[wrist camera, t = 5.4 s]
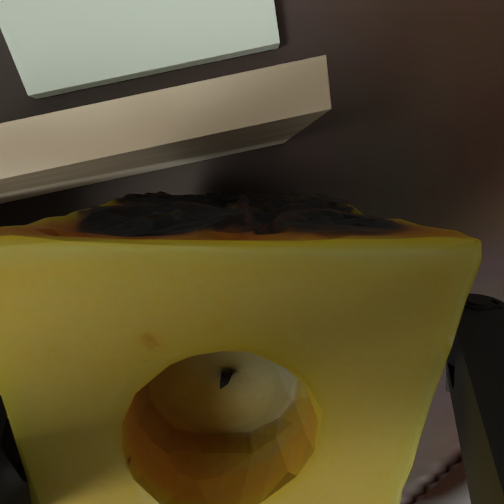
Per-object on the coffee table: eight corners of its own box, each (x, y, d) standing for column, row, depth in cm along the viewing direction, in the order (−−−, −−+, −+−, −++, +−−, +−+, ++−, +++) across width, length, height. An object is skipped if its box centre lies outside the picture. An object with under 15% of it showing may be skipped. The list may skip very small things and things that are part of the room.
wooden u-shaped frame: (-61, 189, 15) (-362, 199, 8) (280, 116, 15) (325, 55, 8) (58, 404, 20) (-51, 545, 12) (315, 347, 20) (366, 451, 13)
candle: (325, 193, 14) (507, 222, 5) (308, 345, 17) (403, 554, 8) (141, 188, 14) (-76, 210, 4) (155, 347, 16) (46, 584, 7)
